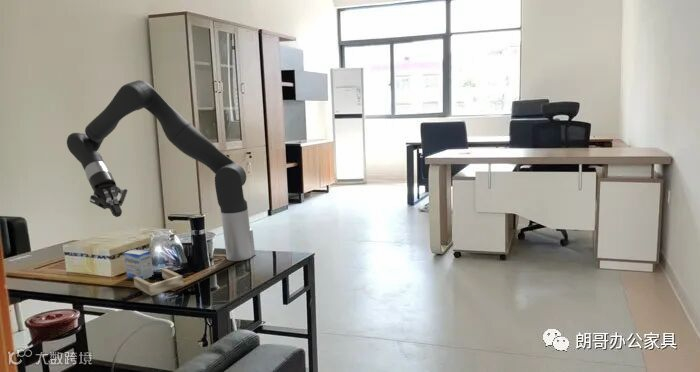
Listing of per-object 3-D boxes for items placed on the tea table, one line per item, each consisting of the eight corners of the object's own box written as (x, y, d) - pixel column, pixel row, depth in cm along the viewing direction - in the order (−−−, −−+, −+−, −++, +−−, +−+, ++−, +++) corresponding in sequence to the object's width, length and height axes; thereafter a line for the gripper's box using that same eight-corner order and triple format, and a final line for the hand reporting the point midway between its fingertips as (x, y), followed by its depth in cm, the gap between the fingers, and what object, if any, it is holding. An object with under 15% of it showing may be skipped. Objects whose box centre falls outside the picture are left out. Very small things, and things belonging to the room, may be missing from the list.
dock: (166, 276, 173) (164, 268, 173) (183, 284, 165) (182, 275, 164) (134, 286, 166) (133, 277, 166) (151, 295, 158) (149, 286, 157)
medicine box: (126, 277, 175) (122, 252, 174) (137, 273, 179) (133, 248, 178) (143, 280, 172) (139, 254, 170) (154, 275, 176) (150, 250, 174)
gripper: (81, 173, 179) (100, 212, 173) (120, 167, 188) (139, 204, 182) (78, 187, 184) (96, 226, 177) (117, 180, 193) (135, 217, 186)
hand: (118, 215), depth 180 cm, fingers closed
